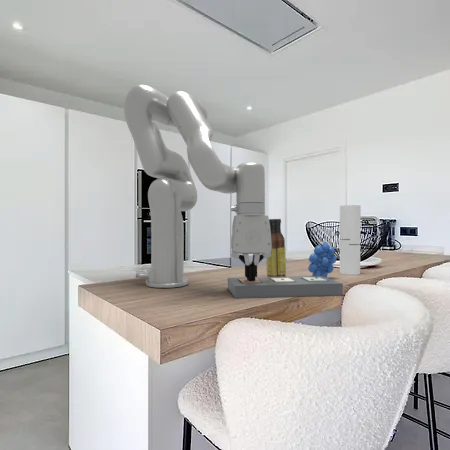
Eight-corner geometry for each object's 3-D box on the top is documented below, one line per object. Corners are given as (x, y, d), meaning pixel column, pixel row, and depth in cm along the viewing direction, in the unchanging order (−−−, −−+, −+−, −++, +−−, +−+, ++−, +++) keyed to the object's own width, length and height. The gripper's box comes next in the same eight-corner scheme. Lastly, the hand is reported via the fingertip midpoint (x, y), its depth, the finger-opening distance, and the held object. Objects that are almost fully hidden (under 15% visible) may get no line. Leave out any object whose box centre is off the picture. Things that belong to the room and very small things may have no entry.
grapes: (326, 276, 112) (326, 241, 112) (341, 279, 106) (341, 242, 106) (300, 278, 106) (300, 242, 106) (314, 281, 100) (314, 243, 100)
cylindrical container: (342, 271, 123) (342, 206, 123) (362, 272, 119) (362, 206, 119) (337, 273, 117) (337, 205, 117) (357, 275, 113) (357, 205, 113)
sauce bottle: (285, 277, 108) (285, 218, 108) (286, 281, 102) (287, 218, 102) (265, 277, 108) (265, 218, 108) (266, 280, 102) (266, 218, 102)
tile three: (242, 293, 82) (242, 281, 82) (238, 289, 87) (238, 278, 87) (261, 293, 82) (261, 281, 82) (256, 289, 87) (256, 277, 87)
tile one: (276, 293, 83) (276, 280, 83) (270, 289, 88) (270, 277, 88) (294, 292, 84) (294, 280, 84) (288, 288, 88) (288, 277, 88)
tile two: (309, 292, 84) (309, 280, 84) (302, 288, 89) (302, 277, 89) (327, 291, 85) (327, 279, 85) (319, 287, 90) (319, 276, 90)
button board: (234, 298, 78) (234, 285, 78) (227, 288, 90) (227, 277, 90) (342, 295, 82) (342, 283, 82) (322, 286, 94) (322, 275, 94)
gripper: (224, 209, 80) (224, 283, 79) (282, 209, 82) (282, 281, 82) (220, 211, 87) (221, 278, 87) (273, 211, 89) (274, 276, 89)
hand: (251, 279), depth 84 cm, fingers closed
